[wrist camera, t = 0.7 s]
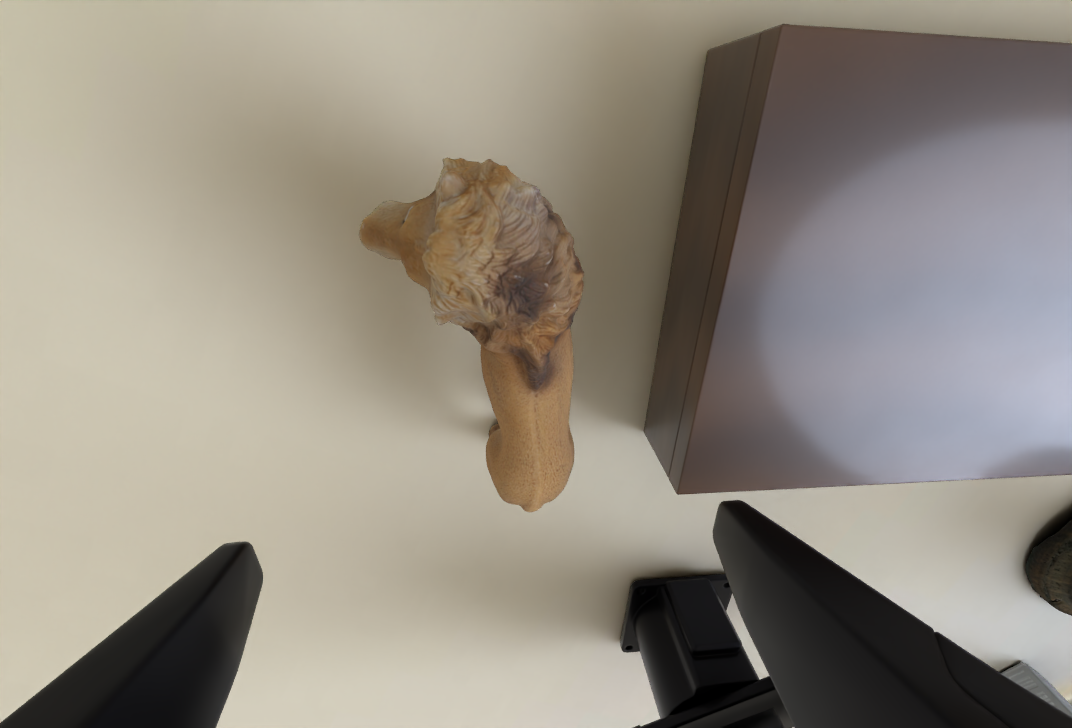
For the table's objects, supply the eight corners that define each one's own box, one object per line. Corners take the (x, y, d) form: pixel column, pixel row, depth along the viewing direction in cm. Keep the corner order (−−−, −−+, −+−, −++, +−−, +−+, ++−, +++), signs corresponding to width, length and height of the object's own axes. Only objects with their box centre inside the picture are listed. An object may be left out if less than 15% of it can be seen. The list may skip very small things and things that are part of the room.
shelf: (1060, 417, 26) (1165, 470, 22) (643, 432, 23) (676, 495, 19) (1277, 82, 19) (1494, 70, 15) (707, 49, 16) (782, 23, 12)
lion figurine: (388, 167, 17) (303, 204, 9) (532, 127, 17) (579, 126, 9) (501, 472, 23) (512, 650, 15) (603, 445, 23) (666, 610, 15)
